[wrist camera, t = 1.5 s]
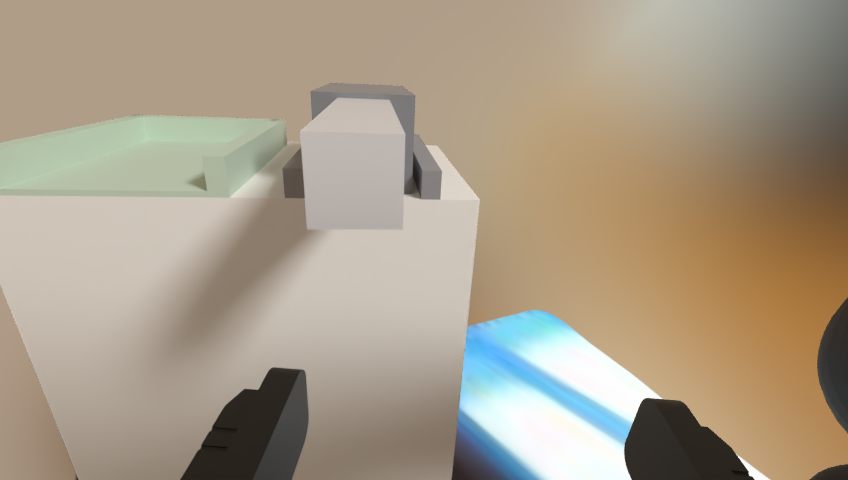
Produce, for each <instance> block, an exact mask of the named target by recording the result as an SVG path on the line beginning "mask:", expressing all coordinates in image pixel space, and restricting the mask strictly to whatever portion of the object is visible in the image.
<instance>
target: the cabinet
mask: <svg viewBox="0 0 848 480" xmlns="http://www.w3.org/2000/svg"><path fill="white" fill-rule="evenodd" d="M479 203H480V200H479V198H478V197H477V196H476V195H475V193H474V192H473V191H472V189H471V188H470V187H469V186H468V185H467V183H466V182H465V181H464V179H463V178H462V177H461V176H460V175H459V173H458V172H457V171H456V169H455V168H454V167H453V165H451V163H450V162H449V160H448V159H447V158H446V156H445V155H444V154H443V153H442V151H441V150H440V149H439V148H438V146H430V145H425V144H424V142H423V141H422V139H421V138H420V136H419V135H416V134H414V145H413V174H412V194H404V207H403V230H386V229H307V222H306V208H305V194H304V179H303V165H302V151H301V142H287V138H286V126H285V120H283V119H252V118H222V117H221V118H220V117H190V116H159V115H132V116H128V117H122V118H117V119H112V120H108V121H103V122H99V123H93V124H88V125H83V126H79V127H74V128H69V129H64V130H59V131H55V132H50V133H45V134H40V135H35V136H30V137H25V138H21V139H16V140H11V141H6V142H1V143H0V285H1V287H2V290H3V292H4V295H5V297H6V300H7V302H8V305H9V307H10V310H11V312H12V314H13V317H14V320H15V322H16V325H17V327H18V330H19V332H20V335H21V337H22V340H23V342H24V345H25V347H26V350H27V352H28V355H29V357H30V360H31V362H32V364H33V367H34V370H35V372H36V375H37V377H38V380H39V382H40V385H41V387H42V390H43V392H44V395H45V397H46V400H47V402H48V405H49V407H50V410H51V412H52V415H53V417H54V420H55V422H56V425H57V427H58V430H59V432H60V435H61V437H62V440H63V442H64V445H65V447H66V450H67V452H68V455H69V457H70V460H71V462H72V464H73V467H74V469H75V472H76V475H77V477H78V480H180V479H181V478H182V476H183V474H184V473H185V471H186V469H187V468H188V466H189V464H190V463H191V461H192V459H193V458H194V456H195V454H196V453H197V451H198V450H200V449H201V444H202V443H203V441H204V439H205V438H206V436H207V434H208V433H209V431H211V430H212V426H213V424H214V423H215V421H216V420H217V418H218V416H219V415H220V413H221V411H222V410H223V408H224V406H225V405H226V404H227V403H229V402H230V401H231V400H232V399H233V398H234V397H236V396H237V395H238V394H239V393H240V392H241V391H242V390H244V389H255V390H258V389H259V388H260V386H261V384H262V382H263V380H264V378H265V376H266V374H267V373H268V371H269V370H270V369H271V368H272V367H277V368H289V369H302V370H304V371H305V373H306V384H307V398H308V412H309V421H308V429H307V435H306V439H305V443H304V446H303V449H302V451H301V454H300V457H299V460H298V463H297V466H296V469H295V472H294V475H293V477H292V480H452V470H453V460H454V451H455V441H456V431H457V421H458V411H459V401H460V391H461V381H462V371H463V362H464V352H465V342H466V332H467V322H468V312H469V302H470V292H471V282H472V271H473V262H474V253H475V242H476V232H477V222H478V213H479Z"/></svg>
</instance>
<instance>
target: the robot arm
mask: <svg viewBox="0 0 848 480" xmlns="http://www.w3.org/2000/svg"><path fill="white" fill-rule="evenodd" d="M817 365H818V366H817V368H818V377H819V382H820V386H821V388H822V391H823V394H824V396H825V399H826V402H827V404H828V406H829V407H830V409H831V411H832V413H833V414H834V416H835V418H836V419H837V421H838V422H839V424H840V425H841V426H842V427H843V428H844V429H845V431H846V432H847V433H848V298H847V299H846V300H845V301H844V302H843V304H842V305H841V306H840V308H839V309H838V310H837V312H836V313H835V314H834V315H833V317H832V318H831V320H830V322H829V324H828V325H827V327H826V329H825V331H824V334H823V337H822V339H821V343H820V347H819V352H818V363H817ZM308 421H309V412H308V398H307V384H306V373H305V371H304V370H302V369H289V368H277V367H272V368H271V369H270V370H269V371H268V373H267V374H266V376H265V378H264V380H263V382H262V384H261V386H260V388H259V389H258V390H255V389H244V390H242V391H241V392H240V393H239V394H238V395H237V396H236V397H234V398H233V399H232V400H231V401H230V402H229V403H227V404H226V405H225V406H224V408H223V410H222V411H221V413H220V415H219V416H218V418H217V420H216V421H215V423H214V424H213V426H212V430H211V431H209V433H208V434H207V436H206V438H205V439H204V441H203V443H202V444H201V449H200V450H198V451H197V453H196V454H195V456H194V458H193V459H192V461H191V463H190V464H189V466H188V468H187V469H186V471H185V473H184V474H183V476H182V478H181V479H180V480H292V477H293V475H294V472H295V469H296V466H297V463H298V460H299V457H300V454H301V451H302V449H303V446H304V443H305V439H306V435H307V429H308ZM624 454H625V462H626V466H627V469H628V472H629V474H630V477H631V479H632V480H754V479H753V477H751V476H749V474H748V470H747V469H746V467H745V466H744V465H743V463H742V462H741V461H740V459H739V458H738V456H737V455H736V454H735V452H734V451H733V450H732V448H731V447H730V446H729V445H727V444H726V443H725V442H724V441H723V440H722V439H721V438H719V437H718V436H717V435H716V434H715V433H714V432H713V431H711V430H710V429H709V428H708V427H701V426H700V424H699V423H698V421H697V420H696V418H695V417H694V416H693V414H692V413H691V411H690V410H689V408H688V407H687V406H686V405H685V404H684V403H683V402H681V401H676V400H664V399H651V398H646V399H644V400H643V401H642V402H641V404H640V407H639V409H638V412H637V414H636V417H635V419H634V422H633V424H632V427H631V429H630V432H629V434H628V437H627V439H626V442H625V449H624ZM810 480H848V464H846V465H839V466H835V467H831V468H827V469H825V470H823V471H821V472H819V473H817V474H816V475H815V476H813V477H812V478H811V479H810Z"/></svg>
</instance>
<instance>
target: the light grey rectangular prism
mask: <svg viewBox="0 0 848 480" xmlns="http://www.w3.org/2000/svg"><path fill="white" fill-rule="evenodd" d="M311 107H312V121H311V122H310V123H309V124H308V125H307V126H305V127H304V128H303V129H302V130H301V131H300V136H301V151H302V165H303V179H304V194H305V208H306V222H307V229H386V230H403V207H404V194H412V174H413V145H414V116H415V95H414V94H413V93H411V92H410V91H408V90H407V89H406V88H404V87H403V86H390V85H389V86H388V85H365V84H343V83H329V84H327V85H325V86H322V87H320V88H317V89H315V90H312V91H311Z"/></svg>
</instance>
